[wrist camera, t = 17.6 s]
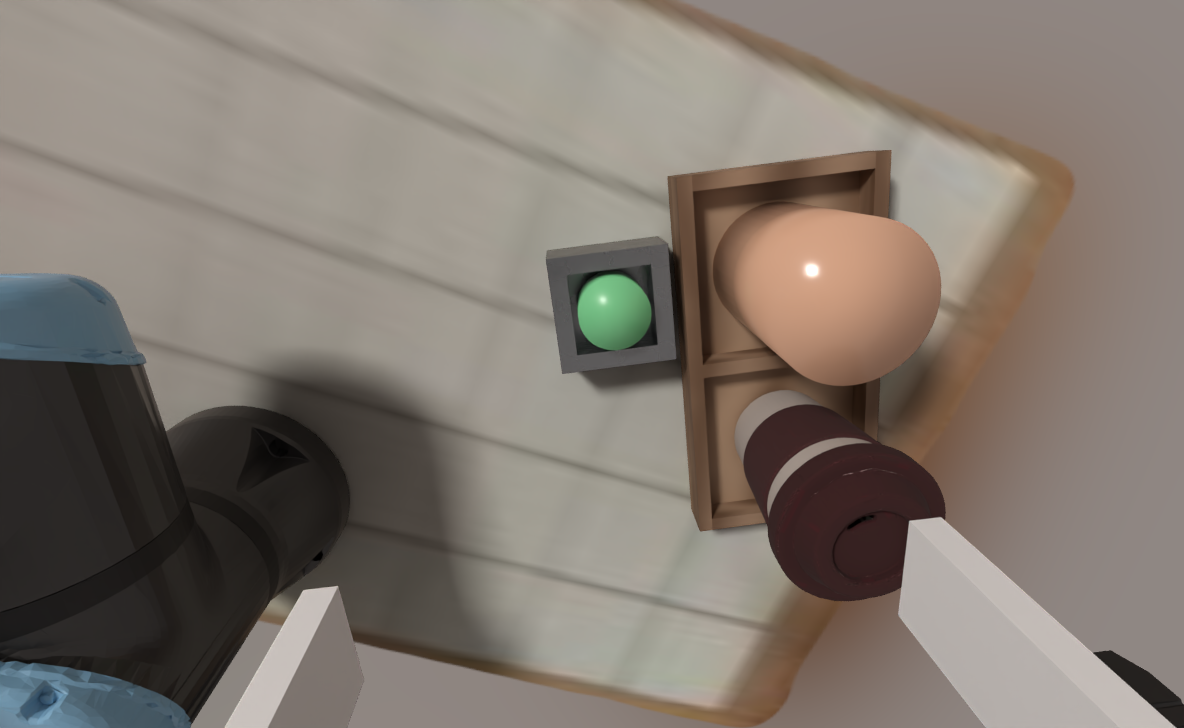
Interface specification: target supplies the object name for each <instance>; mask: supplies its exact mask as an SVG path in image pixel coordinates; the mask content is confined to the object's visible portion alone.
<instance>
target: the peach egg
mask: <svg viewBox="0 0 1184 728" xmlns="http://www.w3.org/2000/svg"><path fill="white" fill-rule="evenodd" d="M713 283H714V287H715V290H716V293H717V295H718V298H719V299H720V301H721V303H722V304H723V306H724V307H725V308H726V309H727V310H728V311H729V312H730V313H731V314H732V315H733V316H734V317H735V318H736V319H737V320H739V321H740V322H741V323H742V324H743V325H744V326H745V327H747V328H748V329H749V330H750V331H751V332H752V333H753V334H755V335H756V336H757V337H758V338H759V339H760V340H761V341H763V342H764V343H765V344H766V345H767V346H768V347H769V348H771V349H772V350H773V351H774V352H775V353H776V354H777V355H779V356H780V357H781V358H782V359H783V360H784V361H785V362H787V363H788V364H789V365H790V366H791V367H792V368H793V369H795V370H796V371H797V372H799V373H800V374H802V375H803V376H805V377H807V378H809V379H811V380H813V381H816V382H819V383H822V384H827V385H834V386H849V385H857V384H862V383H866V382H869V381H872V380H875V379H877V378H880V377H882V376H884V375H886V374H888V373H889V372H891V371H893V370H894V369H896V368H897V367H898V366H900V365H901V364H903V363H904V362H905V361H906V360H907V359H908V358H909V357H910V356H911V355H912V354H913V353H914V352H915V351H916V350H917V349H918V348H919V347H920V345H921V344H922V342H923V341H924V339H925V338H926V337H927V335H928V333H929V331H930V329H931V328H932V325H933V323H934V320H935V318H936V315H937V312H938V308H939V304H940V297H941V278H940V271H939V267H938V264H937V261H936V259H935V256H934V254H933V252H932V250H931V249H930V247H929V246H928V244H927V243H926V242H925V241H924V239H923V238H922V237H921V236H920V235H919V234H918V233H916V232H915V231H914V230H913V229H911V228H910V227H908V226H906V225H904V224H903V223H900V222H898V221H895V220H892V219H888V218H883V217H878V216H872V215H866V214H860V213H854V212H848V211H842V210H836V209H830V208H824V207H818V206H812V205H806V204H800V203H794V202H785V201H779V202H770V203H765V204H762V205H759V206H757V207H755V208H752V209H750V210H749V211H747V212H745V213H744V214H742V215H741V216H740V217H739V218H737V219H736V220H735V221H734V222H733V223H732V224H731V225H730V226H729V228H728V229H727V230H726V232H725V233H724V235H723V236H722V238H721V240H720V242H719V244H718V246H717V249H716V252H715V256H714V260H713Z"/></svg>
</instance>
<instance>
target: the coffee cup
mask: <svg viewBox="0 0 1184 728" xmlns="http://www.w3.org/2000/svg"><path fill="white" fill-rule="evenodd" d="M734 440H735V447H736V450H737V453H738V455H739V457H740V459H741V462H742V464H743V466H744V473H745V476H746V479H747V482H748V484H749V486H750V488H751V491H752V493H753V495H754V497H755V499H756V502H757V504H758V506H759V508H760V511H761V513H762V515H763V517H764V519H765V522H766V524H767V526H768V537H769V542H770V545H771V549H772V551H773V553H774V555H775V557H776V559H777V561H778V563H779V565H780V566H781V568H782V570H783V571H784V573H785V574H786V576H787V577H788V578H789V579H790V580H791V581H792V582H793V583H794V584H795V585H797V586H798V587H799V588H800V589H802V590H804V591H805V592H808V593H810V594H812V595H815V596H817V597H819V598H824V599H829V600H833V601H855V600H862V599H867V598H872V597H878V596H882V595H885V594H888V593H890V592H893V591H895V590H897V589H899V588H901V587H902V579H903V570H904V562H905V553H906V545H907V536H908V527H909V521H912V520H921V519H930V518H938V517H942V518H943V519H944V520H945V513H946V512H945V503H944V498H943V495H942V493H941V490H940V488H939V486H938V484H937V482H936V481H935V480H934V478H933V477H932V476H931V475H930V474H929V473H928V472H927V471H926V470H925V469H924V468H923V467H922V466H920V465H919V464H918V463H917V462H916V461H914V460H913V459H912V458H911V457H909V456H908V455H906V454H905V453H903V452H901V451H899V450H896V449H894V448H891V447H888V446H885V445H882V444H881V443H879V442H878V441H876V440H875V439H873V438H872V437H871V436H869V435H868V434H866V433H865V432H864V431H862V430H861V429H859V428H858V427H857V426H855V425H854V424H852V423H851V422H850V421H848V420H847V419H845V418H844V417H842V416H841V415H840V414H838V413H836V412H835V411H833V410H831V409H829V408H826V407H823V406H822V405H821V404H819V403H818V402H816V401H815V400H814V399H812V398H811V397H809V396H808V395H805V394H803V393H800V392H797V391H792V390H779V391H774V392H770V393H767V394H764V395H762V396H761V397H759V398H757V399H756V400H754V401H753V402H752V403H750V404H749V406H748V407H747V408H746V409H745V410H744V411H743V412H742V414H741V415H740V417H739V419H738V422H737V424H736V428H735V435H734Z"/></svg>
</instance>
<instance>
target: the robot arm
mask: <svg viewBox="0 0 1184 728" xmlns="http://www.w3.org/2000/svg"><path fill="white" fill-rule="evenodd" d="M145 363H146V359H145V357H144V356H143V354H142V353H139V352H138V351H137V349H136V347H135V345H134V343H133V340H132V338H131V335H130V333H129V331H128V328H127V326H126V323H125V321H124V318H123V316H122V314H121V311H120V309H119V306H118V304H117V302H116V300H115V299H114V297H113V296H112V295H111V294H110V293H109V292H108V291H107V290H106V289H105V288H103V287H102V286H101V285H99V284H97V283H96V282H94V281H91V280H89V279H87V278H84V277H80V276H75V275H69V274H47V273H28V274H0V728H190V727H191V724H192V723H193V721H194V720H195V718H196V717H197V715H198V713H199V712H200V710H201V709H202V707H203V705H204V704H205V702H206V701H207V699H208V698H209V696H210V695H211V693H212V691H213V690H214V688H215V687H216V685H217V684H218V682H219V680H220V679H221V677H222V676H223V674H224V672H225V671H226V669H227V668H228V666H229V665H230V663H231V662H232V660H233V658H234V657H235V655H236V654H237V652H238V651H239V649H240V648H241V646H242V644H243V643H244V641H245V640H246V638H247V637H248V635H249V633H250V632H251V630H252V628H253V627H254V626H255V624H256V622H257V621H258V619H259V618H260V616H261V614H262V613H263V611H264V610H265V608H266V607H267V605H268V604H269V602H270V601H271V600H272V599H273V598H275V597H276V596H277V595H279V594H280V593H282V592H283V591H284V590H286V589H287V588H288V587H290V586H291V585H293V584H294V583H295V582H297V581H298V580H300V579H301V578H302V577H304V576H305V575H307V574H308V573H309V572H311V571H312V570H313V569H314V568H316V567H317V566H318V565H319V564H320V563H321V562H322V561H323V560H324V559H325V557H326V556H327V555H328V554H329V552H330V551H331V549H332V548H333V546H334V545H335V543H336V541H337V539H338V538H339V536H340V534H341V533H342V531H343V529H344V526H345V524H346V521H347V518H348V513H349V505H350V498H349V489H348V485H347V481H346V478H345V475H344V472H343V470H342V468H341V466H340V464H339V462H338V461H337V459H336V457H335V456H334V455H333V453H332V452H331V451H330V449H329V448H328V447H327V446H326V445H325V444H324V443H323V442H322V441H321V440H320V439H319V438H318V437H317V436H316V435H315V434H313V433H312V432H311V431H310V430H308V429H307V428H305V427H304V426H302V425H301V424H299V423H297V422H295V421H294V420H292V419H290V418H287V417H285V416H283V415H280V414H278V413H275V412H272V411H268V410H265V409H260V408H255V407H247V406H224V407H217V408H212V409H207V410H204V411H201V412H198V413H196V414H193V415H191V416H189V417H187V418H186V419H184V420H183V421H181V422H179V423H178V424H177V425H175V426H174V427H172V428H171V429H169V430H168V431H165V428H164V425H163V422H162V419H161V416H160V413H159V410H158V407H157V404H156V401H155V398H154V395H153V392H152V389H151V386H150V383H149V380H148V377H147V374H146V371H145V368H144V365H143V364H145ZM898 616H899V617H900V618H901V620H902V621H903V622H904V623H905V625H906V626H907V627H908V629H909V630H910V631H911V632H912V634H913V635H914V636H915V638H916V639H917V640H918V641H919V643H920V644H921V645H922V647H923V648H924V649H925V650H926V652H927V653H928V654H929V656H930V657H931V658H932V659H933V661H934V662H935V663H936V664H937V666H938V667H939V668H940V670H941V671H942V672H943V673H944V675H945V676H946V678H947V679H948V680H949V681H950V683H951V684H952V685H953V687H954V688H955V689H956V690H957V692H958V693H959V694H960V696H961V697H962V698H963V699H964V701H965V702H966V703H967V704H968V706H969V707H970V708H971V710H972V711H973V712H974V714H975V715H976V716H977V717H978V719H979V720H980V721H981V722H982V724H983V725H984V726H985V727H986V728H1184V704H1182V702H1181V699H1180V698H1179V697H1178V696H1176V695H1175V694H1174V693H1173V692H1172V691H1170V690H1169V689H1168V688H1167V687H1166V686H1165V685H1163V684H1162V683H1161V682H1160V681H1159V680H1157V679H1156V678H1155V677H1154V676H1153V675H1152V674H1150V673H1149V672H1148V671H1146V670H1144V669H1142V668H1141V667H1139V666H1137V665H1135V664H1134V663H1132V662H1130V661H1128V660H1127V659H1125V658H1123V657H1121V656H1120V655H1118V654H1116V653H1114V652H1113V651H1102V652H1094V653H1092V652H1091V651H1090V650H1089V649H1087V647H1085V646H1084V645H1083V644H1082V643H1081V642H1080V641H1079V640H1078V639H1076V638H1075V637H1074V636H1073V635H1072V634H1071V633H1070V632H1069V631H1067V630H1066V629H1065V628H1064V627H1063V626H1062V625H1061V624H1060V623H1059V622H1058V621H1056V620H1055V619H1054V618H1053V617H1052V616H1051V615H1050V614H1049V613H1047V612H1046V611H1045V610H1044V609H1043V608H1042V607H1041V606H1040V605H1039V604H1037V603H1036V602H1035V601H1034V600H1033V599H1032V598H1031V597H1030V596H1029V595H1027V594H1026V593H1025V592H1024V591H1023V590H1022V589H1021V588H1020V587H1019V586H1017V585H1016V584H1015V583H1014V582H1013V581H1012V580H1011V579H1009V578H1008V577H1007V576H1006V575H1005V574H1004V573H1003V572H1002V571H1001V570H1000V569H998V568H997V567H996V566H995V565H994V564H993V563H992V562H991V561H990V560H988V559H987V558H986V557H985V556H984V555H983V554H982V553H981V552H979V551H978V550H977V549H976V548H975V547H974V546H973V545H972V544H971V543H969V542H968V541H967V540H966V539H965V538H964V537H963V536H962V535H960V534H959V533H958V532H957V531H956V530H955V529H954V528H953V527H952V526H950V525H949V524H948V523H947V522H946V521H945V520H944V519H943V518H942V517H938V518H930V519H921V520H912V521H909V527H908V536H907V545H906V553H905V562H904V570H903V579H902V587H901V596H900V604H899V613H898ZM363 682H364V677H363V674H362V670H361V667H360V663H359V660H358V656H357V652H356V649H355V645H354V641H353V638H352V634H351V630H350V627H349V623H348V620H347V616H346V612H345V609H344V605H343V601H342V598H341V594H340V591H339V587H338V586H334V587H325V588H317V589H308V590H303V592H302V593H301V595H300V597H299V599H298V600H297V602H296V604H295V606H294V607H293V609H292V611H291V612H290V614H289V616H288V618H287V619H286V621H285V623H284V625H283V626H282V628H281V630H280V632H279V633H278V635H277V637H276V639H275V641H274V642H273V644H272V646H271V648H270V649H269V651H268V653H267V654H266V656H265V658H264V660H263V662H262V663H261V665H260V666H259V668H258V670H257V672H256V673H255V675H254V677H253V679H252V680H251V682H250V684H249V686H248V687H247V689H246V691H245V693H244V695H243V696H242V698H241V700H240V702H239V703H238V705H237V706H236V708H235V710H234V712H233V714H232V715H231V717H230V719H229V720H228V722H227V724H226V726H225V728H347V727H348V724H349V721H350V718H351V716H352V712H353V710H354V707H355V704H356V702H357V699H358V696H359V693H360V690H361V687H362V685H363Z"/></svg>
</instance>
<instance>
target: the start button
mask: <svg viewBox="0 0 1184 728" xmlns="http://www.w3.org/2000/svg"><path fill="white" fill-rule="evenodd" d="M577 311H578V320H579V325H580V328H581V330H582V332H583V334H584V335H585V337H586V338H587V339H588V340H589V341H590V342H591V343H593V344H594V345H596V346H598V347H600V348H603V349H606V350H621V349H625V348H628V347H630V346H632V345H634V344H636V343H637V342H638V341H639V340H640V339H641V338H642V337H643V336H644V335H645V333H646V332H647V330H648V328H649V325H650V322H651V305H650V302H649V300H648V298H647V296H646V294H645V293H644V291H643V290H642V288H641V287H640V285H639V284H638V283H637V281H636V280H635V279H633V278H632V277H631V276H629V275H627V274H625V273H623V272H619V271H605V272H601V273H598V274H596V275H594V276H593V277H591V278H590V279H589V280H588V281H587V282H586V283H585V284H584V285H583V287H582V288H581V290H580V292H579V295H578V299H577Z"/></svg>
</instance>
